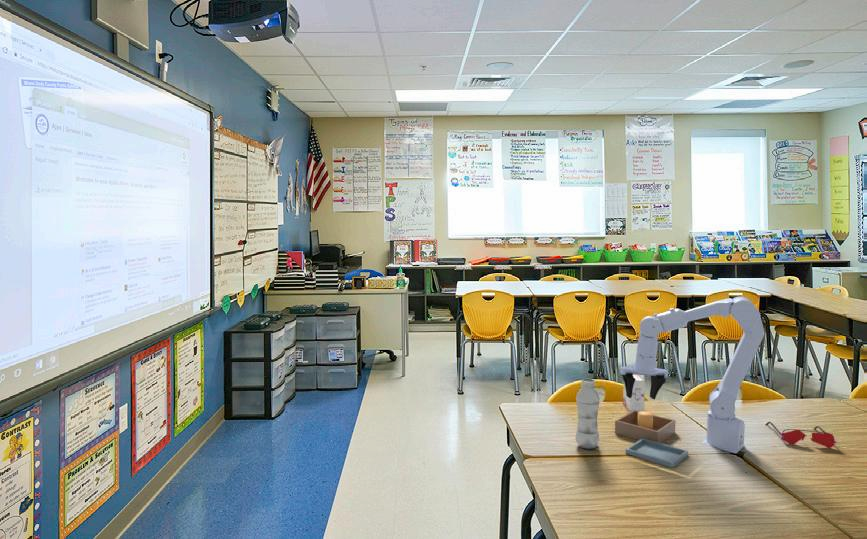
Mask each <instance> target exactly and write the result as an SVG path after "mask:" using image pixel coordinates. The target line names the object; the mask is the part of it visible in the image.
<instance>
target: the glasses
mask: <svg viewBox="0 0 867 539" xmlns="http://www.w3.org/2000/svg"><path fill="white" fill-rule="evenodd" d="M769 424H770V425H771V426H772V427H773V428H774V429H775V431H776V432H777V433H778V434H779V435H780V436H781V440H783V441H784V442H785V443H787V444H789V445H796V444H797V443H798V442H800V441H802V442H804V439H805V437H807V434H805V433H804V432H810V433H811V437H809V438H810V441H811V442H813V443H816V444H819V445H820V446H823V447H825V448H828V447H831V448H833V447H834V446H835V444H836V443H837V441H836V440H835V436H834V435H833V433H830V432H826V430H823V428H822V427H820V426H819V425H818V426H815V427H813V430H808V429H807V430H805V429H796V428H795V429H793V428H786V429H784V430H783V431H782V432H781V431H779V429H778V428H777V427H776V426H775V424H774V423H772V422H771V421H768V422H767V423H765V425H764V426H768V425H769ZM814 429H815V430H814ZM817 429H819V430H820V431H816V430H817ZM789 430H790V431H789ZM785 431H786V432H785ZM837 444H838V443H837Z"/></svg>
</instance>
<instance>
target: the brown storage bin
mask: <svg viewBox="0 0 867 539" xmlns="http://www.w3.org/2000/svg"><path fill="white" fill-rule="evenodd" d="M638 412H641V411H636V410H634V411H630V412H628V413H626V414H625V415H623V416H621V417H619V418H617V419H616V420H615V421H614V433H615V434H616V435H621V436H623V437H628V438H632V439H635V440H637V441H639V440H640V439H642V438H644V439H648V440H651V441H655V442H658V443H663V442H664V441H666V440H668V439H669V438H670V437H672V436H673V435H674V434H676V422H677V421H676V420H675V419H671V418H667V417H663V416H661V415H660V416H658V415H657V414H656V415H655V414H653V430H651V429H647V428H644V427H640V426H638Z"/></svg>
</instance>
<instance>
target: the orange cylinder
mask: <svg viewBox="0 0 867 539" xmlns="http://www.w3.org/2000/svg"><path fill="white" fill-rule="evenodd" d="M653 415H654V413H652V412H649V411H645V410H644V411H640V412H638V426H640V427H644V428H647V429H651V430H653Z"/></svg>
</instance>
